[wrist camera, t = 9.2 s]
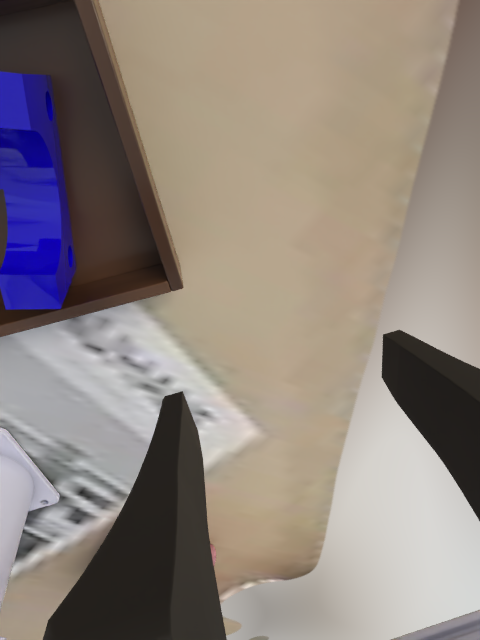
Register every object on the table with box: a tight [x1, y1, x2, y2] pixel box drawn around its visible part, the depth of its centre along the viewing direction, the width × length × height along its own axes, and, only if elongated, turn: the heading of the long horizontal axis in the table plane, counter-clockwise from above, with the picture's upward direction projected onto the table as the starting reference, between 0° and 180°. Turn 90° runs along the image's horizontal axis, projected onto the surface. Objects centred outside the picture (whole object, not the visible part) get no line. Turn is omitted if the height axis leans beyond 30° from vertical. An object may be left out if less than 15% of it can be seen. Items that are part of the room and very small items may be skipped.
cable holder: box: [0, 69, 76, 310], centre depth 15 cm, size 8×4×4 cm, turn 173°
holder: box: [0, 0, 183, 337], centre depth 15 cm, size 10×12×3 cm
